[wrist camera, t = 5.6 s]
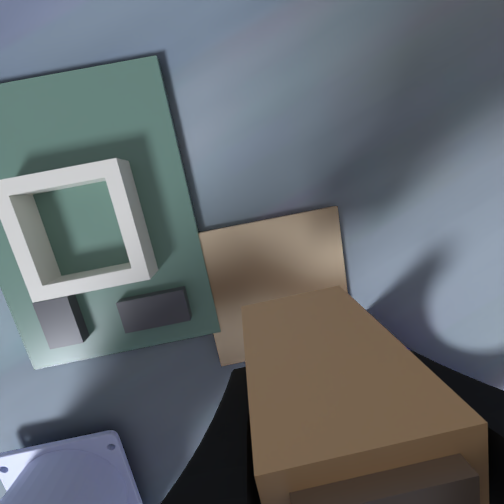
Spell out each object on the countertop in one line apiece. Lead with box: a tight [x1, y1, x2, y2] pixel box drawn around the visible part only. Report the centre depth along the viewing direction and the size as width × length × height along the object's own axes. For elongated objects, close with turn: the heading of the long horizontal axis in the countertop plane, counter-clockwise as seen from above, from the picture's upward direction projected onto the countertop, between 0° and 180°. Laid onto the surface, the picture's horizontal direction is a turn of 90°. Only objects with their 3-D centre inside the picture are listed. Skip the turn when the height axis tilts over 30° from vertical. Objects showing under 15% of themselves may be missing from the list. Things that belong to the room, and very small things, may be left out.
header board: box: [0, 55, 221, 370], centre depth 16 cm, size 16×12×2 cm
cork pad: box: [198, 206, 348, 366], centre depth 19 cm, size 9×9×1 cm
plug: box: [241, 285, 489, 504], centre depth 9 cm, size 4×4×7 cm
